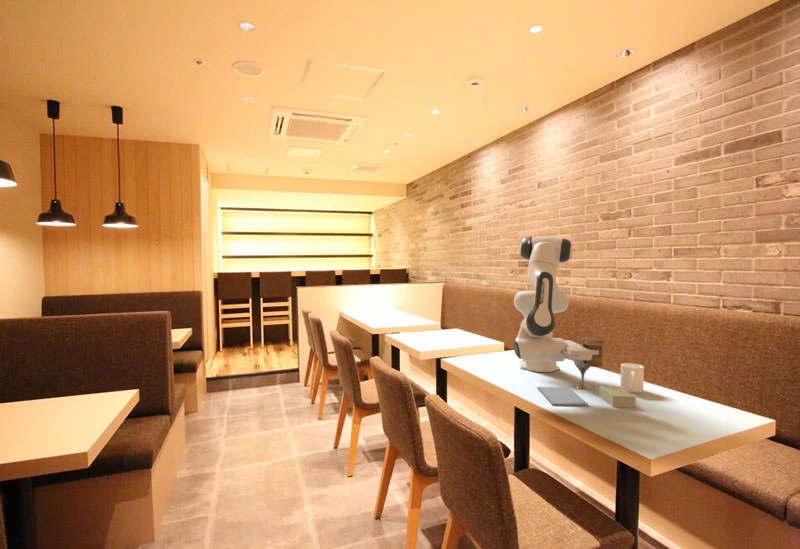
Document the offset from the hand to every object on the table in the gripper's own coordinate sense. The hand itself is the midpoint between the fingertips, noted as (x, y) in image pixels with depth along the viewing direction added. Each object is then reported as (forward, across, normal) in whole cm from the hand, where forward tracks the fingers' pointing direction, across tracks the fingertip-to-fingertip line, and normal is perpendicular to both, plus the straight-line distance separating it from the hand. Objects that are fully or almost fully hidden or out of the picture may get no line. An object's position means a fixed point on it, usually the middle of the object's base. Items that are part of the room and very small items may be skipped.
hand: (594, 350), depth 155 cm
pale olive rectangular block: (+8, -1, +19) cm, 21 cm away
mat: (-11, +3, +19) cm, 23 cm away
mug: (+20, +12, +20) cm, 31 cm away
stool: (+3, 0, +4) cm, 5 cm away
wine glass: (+2, +17, +20) cm, 26 cm away
